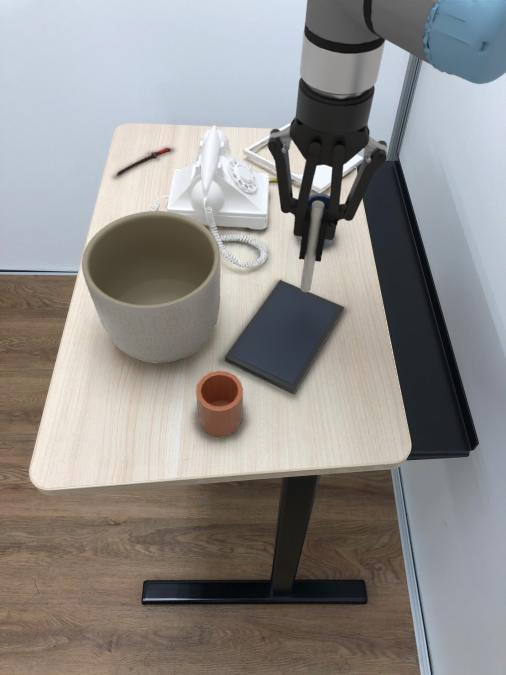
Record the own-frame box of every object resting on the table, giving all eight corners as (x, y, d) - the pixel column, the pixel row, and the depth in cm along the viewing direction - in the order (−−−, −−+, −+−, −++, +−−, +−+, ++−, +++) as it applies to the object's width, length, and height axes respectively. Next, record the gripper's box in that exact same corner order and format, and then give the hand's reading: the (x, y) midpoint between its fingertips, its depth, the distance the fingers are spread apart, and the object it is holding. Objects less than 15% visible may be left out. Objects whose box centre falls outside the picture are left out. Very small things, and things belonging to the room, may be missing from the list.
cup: (249, 410, 71) (251, 382, 66) (228, 444, 69) (227, 418, 63) (213, 392, 73) (211, 363, 67) (191, 424, 70) (187, 397, 64)
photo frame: (362, 162, 104) (288, 128, 111) (363, 157, 104) (289, 123, 110) (319, 194, 97) (243, 155, 103) (320, 189, 96) (243, 149, 102)
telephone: (266, 274, 86) (270, 213, 76) (136, 268, 86) (123, 206, 76) (269, 176, 101) (273, 114, 91) (159, 171, 101) (150, 108, 91)
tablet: (343, 310, 82) (344, 306, 81) (294, 394, 73) (294, 390, 72) (279, 283, 85) (280, 279, 84) (224, 360, 76) (224, 356, 75)
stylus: (311, 290, 78) (326, 203, 65) (307, 297, 77) (321, 210, 64) (302, 286, 79) (315, 198, 66) (297, 293, 78) (309, 205, 65)
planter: (225, 375, 75) (223, 304, 62) (101, 382, 73) (74, 312, 61) (219, 284, 85) (216, 207, 72) (109, 289, 83) (88, 212, 71)
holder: (337, 233, 92) (344, 200, 87) (324, 253, 89) (330, 221, 84) (308, 222, 94) (312, 189, 88) (293, 241, 91) (297, 208, 85)
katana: (165, 147, 106) (165, 144, 105) (171, 150, 105) (171, 147, 105) (113, 174, 100) (112, 171, 100) (118, 177, 99) (118, 174, 99)
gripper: (411, 68, 54) (366, 240, 73) (269, 53, 55) (261, 227, 74) (412, 108, 50) (364, 281, 69) (258, 91, 51) (252, 266, 70)
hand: (310, 253), depth 72 cm, fingers closed on stylus, 1 cm apart
